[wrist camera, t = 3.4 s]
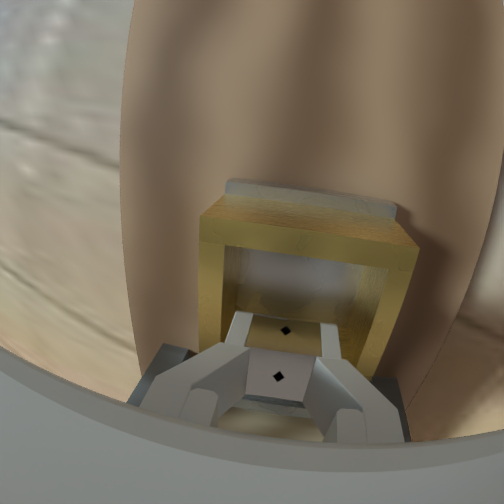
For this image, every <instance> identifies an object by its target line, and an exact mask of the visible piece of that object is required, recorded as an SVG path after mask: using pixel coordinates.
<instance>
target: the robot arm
mask: <svg viewBox="0 0 504 504" xmlns="http://www.w3.org/2000/svg"><path fill="white" fill-rule="evenodd" d="M245 394H250V395H258V396H266V397H274V398H280V399H287V400H294V401H301V402H303V404H304V406H305V408H306V409H307V411H308V413H309V414H310V416H311V417H312V419H313V421H314V422H315V424H316V426H317V427H318V429H319V430H320V432H321V434H322V435H323V437H324V439H323V441H322V442H315V441H303V440H292V439H283V438H275V437H268V436H261V435H254V434H248V433H242V432H236V431H231V430H225V429H220V428H218V418H219V417H220V416H222V415H223V414H224V413H225V412H226V411H227V410H229V409H230V408H231V407H232V406H233V405H234V404H236V403H237V402H238V401H239V400H240V399H241V398H242V397H243V396H245ZM0 504H504V429H502V430H497V431H492V432H487V433H482V434H476V435H470V436H464V437H457V438H449V439H441V440H431V441H420V442H405V441H404V436H403V431H402V427H401V422H400V417H399V413H398V409H397V408H396V407H395V406H394V405H393V404H392V403H391V402H390V401H389V400H388V399H387V398H386V397H384V396H383V395H382V394H381V393H380V392H379V391H378V390H377V389H376V388H375V387H374V386H373V385H372V384H371V383H370V382H369V381H368V380H367V379H366V378H365V377H364V376H363V375H362V374H361V373H360V372H359V371H358V370H357V369H356V368H355V367H354V366H353V365H352V364H351V363H349V362H348V361H347V360H345V359H342V356H341V349H340V341H339V334H338V327H337V325H336V324H331V323H317V322H308V321H299V320H290V319H286V318H280V317H274V316H268V315H262V314H256V313H254V314H253V313H250V312H244V311H238V310H237V311H236V312H235V315H234V318H233V320H232V323H231V326H230V329H229V332H228V334H227V337H226V340H225V343H221V342H219V343H217V344H215V345H214V346H212V347H210V348H208V349H206V350H205V351H203V352H201V353H199V354H197V355H195V356H193V357H192V358H190V359H188V360H186V361H184V362H182V363H180V364H178V365H177V366H175V367H173V368H171V369H169V370H167V371H165V372H163V373H161V374H159V375H157V376H156V377H155V379H154V381H153V382H152V384H151V386H150V388H149V390H148V391H147V393H146V395H145V397H144V399H143V400H142V402H141V404H140V406H139V407H137V406H133V405H130V404H127V403H125V402H122V401H119V400H116V399H113V398H110V397H108V396H105V395H102V394H100V393H97V392H95V391H92V390H90V389H87V388H85V387H82V386H80V385H77V384H75V383H73V382H70V381H68V380H66V379H64V378H61V377H59V376H57V375H55V374H53V373H51V372H49V371H47V370H44V369H42V368H40V367H38V366H36V365H34V364H32V363H31V362H29V361H27V360H25V359H23V358H21V357H19V356H17V355H16V354H14V353H12V352H10V351H8V350H7V349H5V348H3V347H1V346H0Z"/></svg>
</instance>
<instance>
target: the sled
mask: <svg viewBox="0 0 504 504" xmlns="http://www.w3.org/2000/svg"><path fill="white" fill-rule="evenodd" d="M396 211H397V206H396V205H395V204H394V203H393V202H391V201H389V200H384V199H379V198H373V197H368V196H362V195H356V194H351V193H345V192H339V191H332V190H326V189H319V188H313V187H306V186H299V185H292V184H284V183H276V182H268V181H260V180H251V179H242V178H233V177H231V178H230V179H229V180H227V181H226V184H225V195H223V196H222V197H221V198H220V199H219V200H218V201H216V202H215V203H214V204H213V205H212V206H211V207H209V208H208V209H207V210H206V211H205V212H204V213H203V214H201V215H200V223H199V271H198V325H199V353H201V352H203V351H205V350H206V349H208V348H210V347H212V346H214V345H215V344H217V343H219V342H221V343H225V340H226V337H227V334H228V332H229V329H230V326H231V323H232V320H233V318H234V315H235V312H236V311H237V310H238V311H244V312H250V313H253V314H254V313H256V314H262V315H268V316H274V317H280V318H286V319H290V320H299V321H308V322H317V323H331V324H336V325H337V327H338V334H339V341H340V349H341V356H342V359H345V360H347V361H348V362H349V363H351V364H352V365H353V366H354V367H355V368H356V369H357V370H358V371H359V372H360V373H361V374H362V375H363V376H364V377H365V378H366V379H367V380H368V381H369V382H370V381H371V379H372V377H373V375H374V373H375V370H376V368H377V366H378V364H379V361H380V359H381V357H382V354H383V352H384V350H385V347H386V345H387V343H388V340H389V338H390V335H391V333H392V330H393V327H394V325H395V322H396V320H397V317H398V314H399V312H400V309H401V306H402V303H403V300H404V298H405V295H406V292H407V289H408V286H409V283H410V280H411V276H412V273H413V270H414V267H415V263H416V260H417V257H418V253H419V250H420V248H419V247H418V246H417V245H416V243H415V242H414V241H413V240H412V239H411V237H410V236H409V235H408V234H407V233H406V232H405V231H404V229H403V228H402V227H401V226H400V225H399V224H398V223H397V221H396V220H395V216H396ZM232 407H237V408H242V409H247V410H253V411H259V412H265V413H272V414H278V415H286V416H293V417H302V418H311V419H312V417H311V416H310V414H309V413H308V411H307V409H306V408H305V406H304V404H303V402H301V401H294V400H287V399H280V398H274V397H266V396H258V395H250V394H245V396H243V397H242V398H241V399H240V400H239V401H238V402H237V403H236V404H234V405H233V406H232Z"/></svg>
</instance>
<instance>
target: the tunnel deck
mask: <svg viewBox="0 0 504 504" xmlns="http://www.w3.org/2000/svg"><path fill="white" fill-rule="evenodd" d="M503 150H504V6H503V0H135V1H134V7H133V12H132V18H131V24H130V30H129V37H128V44H127V52H126V60H125V70H124V80H123V92H122V106H121V126H120V204H121V224H122V239H123V252H124V263H125V273H126V282H127V290H128V298H129V306H130V313H131V320H132V326H133V332H134V338H135V344H136V349H137V355H138V360H139V365H140V370H141V375H142V378H141V380H140V381H139V383H138V385H137V386H136V388H135V389H134V391H133V393H132V394H131V396H130V398H129V399H128V401H127V404H130V405H133V406H137V407H139V406H140V404H141V402H142V400H143V399H144V397H145V395H146V393H147V391H148V390H149V388H150V386H151V384H152V382H153V381H154V379H155V377H156V376H157V375H159V374H161V373H163V372H165V371H167V370H169V369H171V368H173V367H175V366H177V365H178V364H180V363H182V362H184V361H186V360H188V359H190V358H192V357H193V356H195V355H197V354H199V325H198V271H199V223H200V215H201V214H203V213H204V212H205V211H206V210H207V209H208V208H209V207H211V206H212V205H213V204H214V203H215V202H216V201H218V200H219V199H220V198H221V197H222V196H223V195H225V184H226V181H227V180H229V179H230V178H231V177H233V178H242V179H251V180H260V181H268V182H276V183H284V184H292V185H299V186H306V187H313V188H319V189H326V190H332V191H339V192H345V193H351V194H356V195H362V196H368V197H373V198H379V199H384V200H389V201H391V202H393V203H394V204H395V205H396V206H397V211H396V216H395V220H396V221H397V223H398V224H399V225H400V226H401V227H402V228H403V229H404V231H405V232H406V233H407V234H408V235H409V236H410V237H411V239H412V240H413V241H414V242H415V243H416V245H417V246H418V247H419V248H420V250H419V253H418V257H417V260H416V263H415V267H414V270H413V273H412V276H411V280H410V283H409V286H408V289H407V292H406V295H405V298H404V300H403V303H402V306H401V309H400V312H399V314H398V317H397V320H396V322H395V325H394V327H393V330H392V333H391V335H390V338H389V340H388V343H387V345H386V347H385V350H384V352H383V354H382V357H381V359H380V361H379V364H378V366H377V368H376V370H375V373H374V375H373V377H372V379H371V381H370V383H371V384H372V385H373V386H374V387H375V388H376V389H377V390H378V391H379V392H380V393H381V394H382V395H383V396H384V397H386V398H387V399H388V400H389V401H390V402H391V403H392V404H393V405H394V406H395V407H396V408H397V409H398V413H399V417H400V422H401V427H402V431H403V436H404V441H405V442H411V437H410V432H409V427H408V423H407V418H406V413H405V410H406V409H407V407H408V406H409V404H410V403H411V401H412V399H413V398H414V396H415V394H416V393H417V391H418V389H419V388H420V386H421V384H422V383H423V381H424V379H425V377H426V376H427V374H428V372H429V370H430V368H431V367H432V365H433V363H434V361H435V359H436V357H437V355H438V353H439V351H440V349H441V347H442V345H443V343H444V341H445V339H446V337H447V335H448V333H449V331H450V329H451V327H452V324H453V322H454V320H455V318H456V315H457V313H458V311H459V308H460V306H461V304H462V301H463V299H464V296H465V294H466V291H467V289H468V286H469V283H470V281H471V278H472V275H473V272H474V270H475V267H476V264H477V261H478V258H479V255H480V251H481V248H482V245H483V242H484V238H485V235H486V231H487V228H488V224H489V220H490V216H491V212H492V208H493V204H494V200H495V195H496V190H497V186H498V180H499V175H500V169H501V163H502V157H503Z"/></svg>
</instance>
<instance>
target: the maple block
mask: <svg viewBox="0 0 504 504" xmlns="http://www.w3.org/2000/svg"><path fill="white" fill-rule="evenodd" d="M218 428H220V429H225V430H231V431H236V432H242V433H248V434H254V435H261V436H268V437H275V438H283V439H292V440H303V441H315V442H322V441H323V439H324V437H323V435H322V434H321V432H320V430H319V429H318V427H317V426H316V424H315V422H314V421H313V419H311V418H302V417H293V416H286V415H278V414H272V413H265V412H259V411H253V410H247V409H242V408H237V407H231V408H230V409H229V410H227V411H226V412H225V413H224V414H223V415H222V416H220V417H219V418H218Z"/></svg>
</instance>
